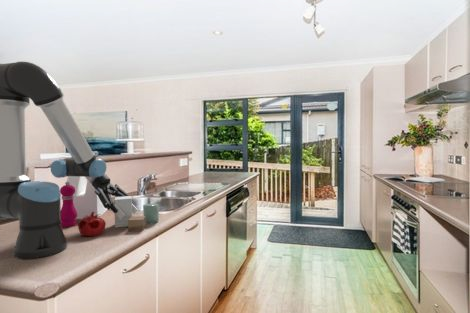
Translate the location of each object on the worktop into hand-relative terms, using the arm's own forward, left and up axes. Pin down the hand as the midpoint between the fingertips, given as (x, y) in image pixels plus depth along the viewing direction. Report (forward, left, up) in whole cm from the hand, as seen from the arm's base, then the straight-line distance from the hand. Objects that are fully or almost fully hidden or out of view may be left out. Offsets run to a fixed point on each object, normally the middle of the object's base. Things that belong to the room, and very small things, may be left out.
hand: (129, 214), depth 127 cm
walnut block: (-5, -6, -5) cm, 9 cm away
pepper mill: (-3, +28, -5) cm, 29 cm away
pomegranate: (-14, +9, -5) cm, 17 cm away
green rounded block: (+7, -7, -5) cm, 11 cm away
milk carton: (+18, +33, -5) cm, 38 cm away
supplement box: (0, +3, -5) cm, 6 cm away
